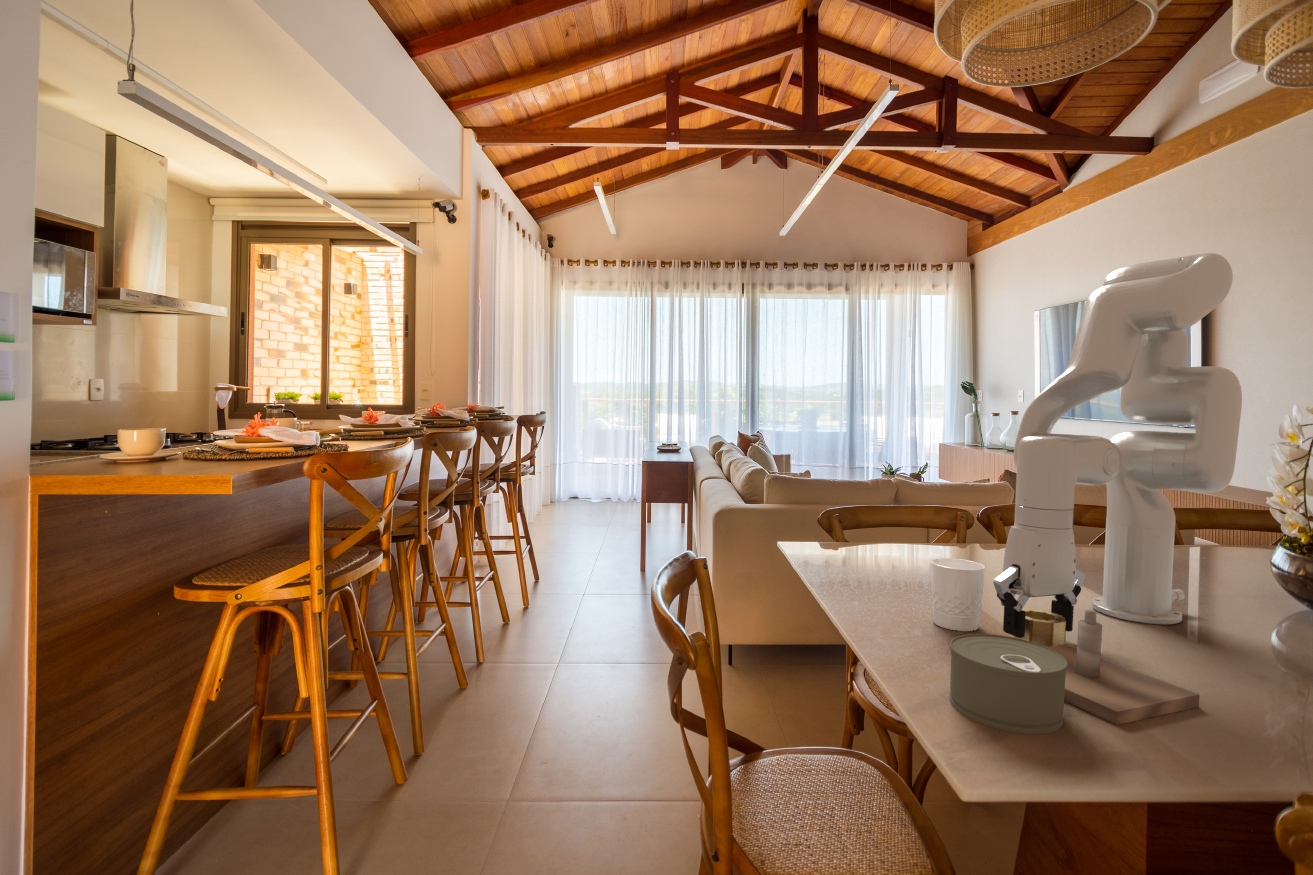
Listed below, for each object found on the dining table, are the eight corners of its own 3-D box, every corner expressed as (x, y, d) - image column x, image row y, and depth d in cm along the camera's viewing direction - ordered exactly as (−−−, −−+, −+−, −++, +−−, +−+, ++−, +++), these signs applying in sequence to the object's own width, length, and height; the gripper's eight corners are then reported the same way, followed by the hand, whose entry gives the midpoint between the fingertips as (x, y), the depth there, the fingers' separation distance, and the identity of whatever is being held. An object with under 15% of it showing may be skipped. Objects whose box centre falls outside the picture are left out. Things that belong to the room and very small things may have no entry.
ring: (1034, 632, 102) (1035, 607, 101) (1074, 646, 95) (1075, 620, 95) (1003, 636, 99) (1004, 611, 99) (1041, 652, 93) (1043, 624, 93)
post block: (1064, 654, 92) (1067, 588, 92) (1198, 706, 76) (1203, 627, 76) (989, 666, 88) (992, 597, 87) (1116, 724, 72) (1120, 640, 71)
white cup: (989, 635, 100) (991, 571, 100) (934, 630, 102) (937, 567, 101) (974, 618, 108) (977, 559, 107) (924, 615, 109) (926, 556, 109)
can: (1025, 687, 81) (1027, 634, 81) (1090, 736, 69) (1093, 673, 69) (930, 686, 81) (932, 632, 81) (979, 735, 69) (981, 671, 69)
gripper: (1061, 512, 103) (1056, 618, 104) (978, 516, 97) (973, 629, 98) (1108, 520, 96) (1102, 634, 97) (1022, 525, 90) (1016, 646, 91)
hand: (1037, 631), depth 97 cm, fingers open, 9 cm apart
